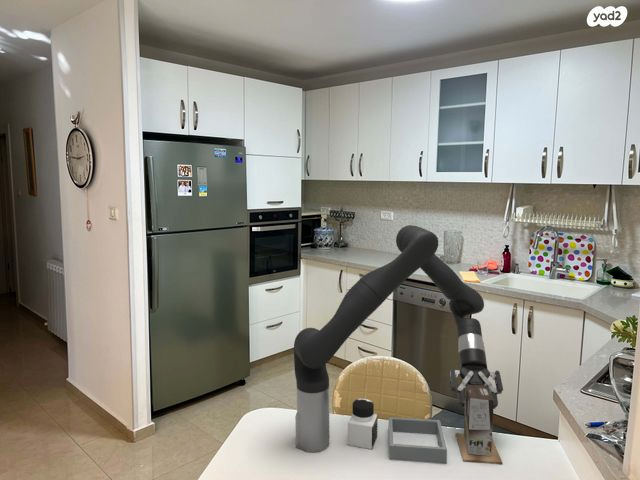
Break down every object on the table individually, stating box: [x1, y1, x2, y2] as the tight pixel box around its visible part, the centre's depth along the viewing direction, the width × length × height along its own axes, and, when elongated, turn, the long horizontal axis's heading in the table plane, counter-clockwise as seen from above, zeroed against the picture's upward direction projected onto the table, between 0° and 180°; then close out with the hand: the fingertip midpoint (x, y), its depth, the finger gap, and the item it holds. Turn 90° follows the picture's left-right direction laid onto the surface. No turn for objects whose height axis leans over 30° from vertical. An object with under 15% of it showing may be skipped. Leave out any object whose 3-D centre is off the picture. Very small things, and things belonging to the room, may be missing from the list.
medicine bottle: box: [347, 398, 378, 450], centre depth 130 cm, size 7×7×12 cm
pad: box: [455, 432, 503, 465], centre depth 127 cm, size 10×13×1 cm
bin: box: [388, 416, 448, 465], centre depth 128 cm, size 15×15×4 cm
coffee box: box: [463, 385, 494, 456], centre depth 126 cm, size 9×6×16 cm
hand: (478, 406), depth 126 cm, fingers open, 8 cm apart
